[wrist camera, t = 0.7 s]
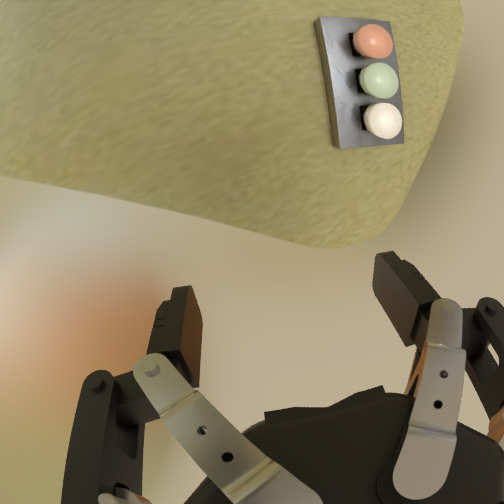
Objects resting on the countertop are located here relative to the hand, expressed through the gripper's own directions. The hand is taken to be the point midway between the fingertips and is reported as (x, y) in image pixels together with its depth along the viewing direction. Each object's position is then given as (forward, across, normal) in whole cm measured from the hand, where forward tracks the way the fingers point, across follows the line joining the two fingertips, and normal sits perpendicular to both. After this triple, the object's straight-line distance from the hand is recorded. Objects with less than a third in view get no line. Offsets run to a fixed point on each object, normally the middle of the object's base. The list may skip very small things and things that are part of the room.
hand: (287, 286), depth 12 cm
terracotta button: (+22, -15, -13) cm, 30 cm away
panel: (+24, -15, -9) cm, 30 cm away
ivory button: (+22, -15, -4) cm, 27 cm away
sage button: (+22, -15, -9) cm, 28 cm away
